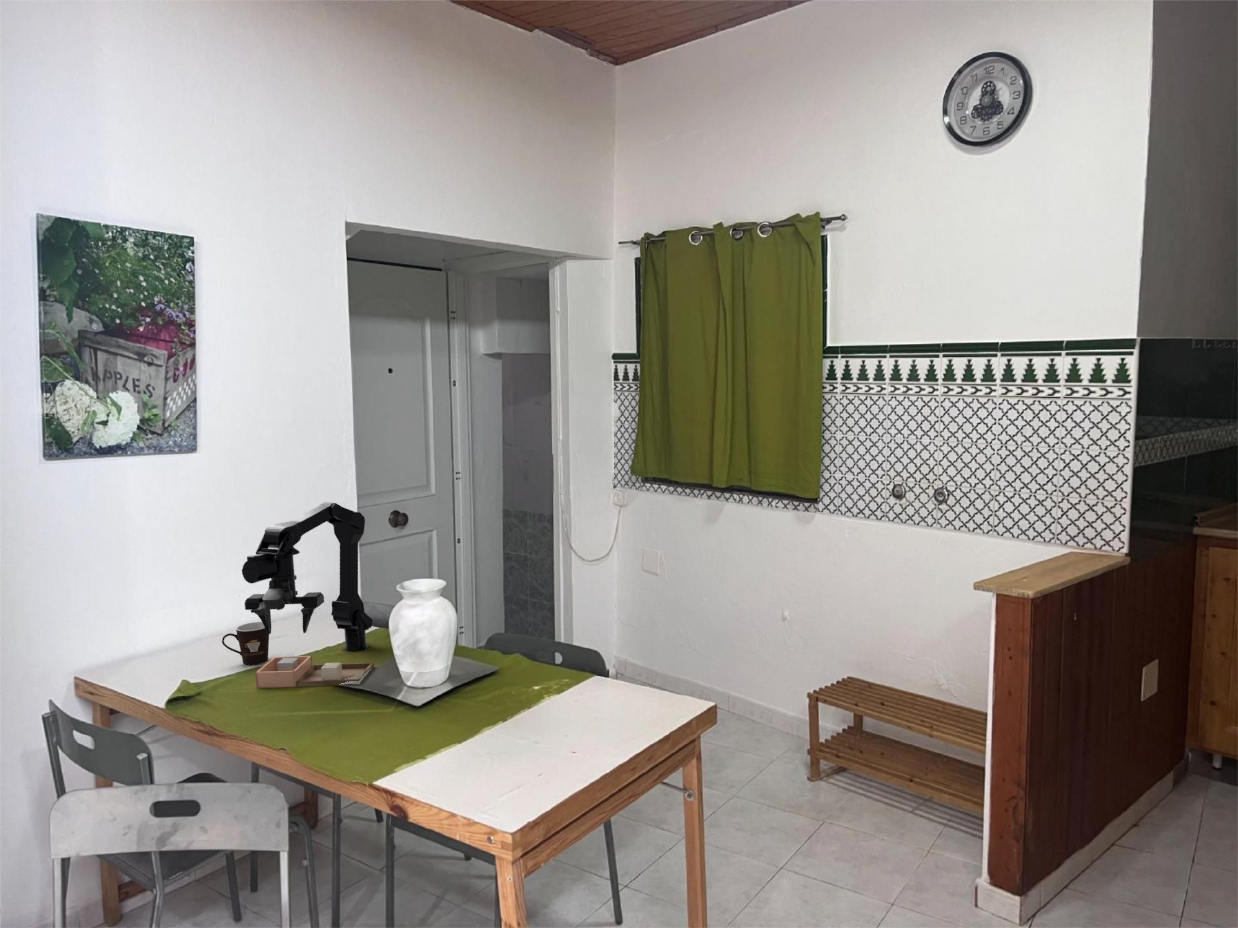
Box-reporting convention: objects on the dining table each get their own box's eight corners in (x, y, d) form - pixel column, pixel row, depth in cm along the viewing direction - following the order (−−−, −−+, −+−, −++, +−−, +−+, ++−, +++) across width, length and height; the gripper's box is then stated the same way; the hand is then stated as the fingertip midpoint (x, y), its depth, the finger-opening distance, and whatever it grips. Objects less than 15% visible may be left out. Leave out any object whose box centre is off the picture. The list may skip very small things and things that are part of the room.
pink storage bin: (275, 673, 238) (273, 656, 237) (312, 672, 238) (311, 655, 237) (256, 689, 226) (255, 672, 225) (296, 688, 226) (294, 671, 225)
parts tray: (314, 670, 239) (313, 664, 238) (374, 669, 238) (373, 662, 238) (296, 688, 226) (295, 681, 225) (359, 686, 225) (359, 679, 225)
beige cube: (327, 677, 231) (325, 662, 230) (342, 677, 231) (341, 662, 230) (321, 683, 227) (320, 668, 227) (337, 682, 227) (336, 667, 226)
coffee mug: (277, 656, 252) (275, 621, 251) (262, 666, 243) (259, 630, 242) (238, 656, 253) (235, 621, 252) (222, 666, 245) (219, 631, 243)
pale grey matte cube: (284, 672, 236) (283, 658, 236) (299, 672, 236) (298, 657, 235) (278, 678, 232) (277, 663, 232) (293, 677, 232) (292, 662, 232)
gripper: (232, 583, 223) (237, 643, 225) (307, 580, 223) (311, 641, 224) (251, 572, 234) (256, 630, 236) (322, 570, 234) (326, 628, 235)
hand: (287, 633), depth 233 cm, fingers open, 9 cm apart
